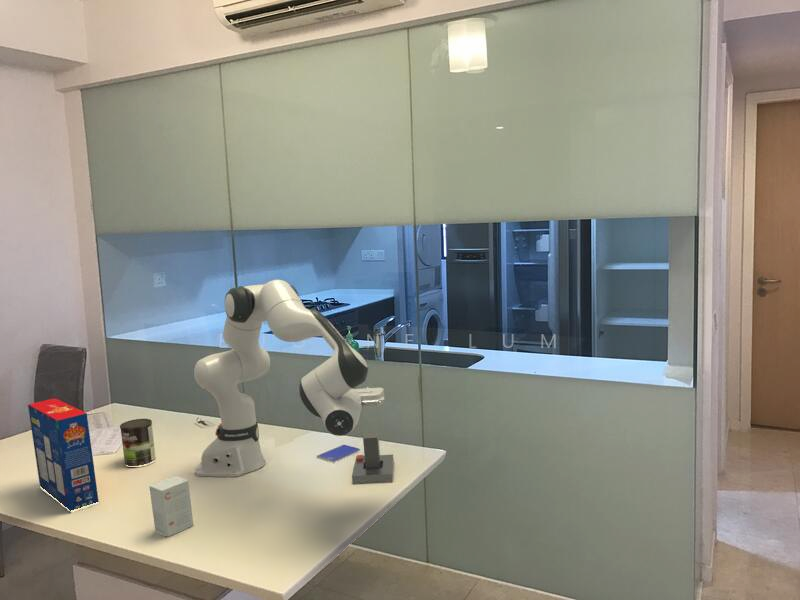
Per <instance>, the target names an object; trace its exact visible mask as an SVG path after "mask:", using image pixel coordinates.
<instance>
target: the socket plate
mask: <svg viewBox="0 0 800 600" xmlns="http://www.w3.org/2000/svg"><path fill="white" fill-rule="evenodd" d="M380 463H381V464H380V468H374V469H365V457H364V454H359V455H358V454H357V455H356V457H355V460H354V465H353V469H352V474H351V480H352V481H351V482H352V485H359V484H361V485H362V484H376V483H377V484H378V483H380V484H381V483H392V482H393V478H394V464H395V462H394V454H380Z"/></svg>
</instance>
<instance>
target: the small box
mask: <svg viewBox="0 0 800 600" xmlns="http://www.w3.org/2000/svg"><path fill="white" fill-rule="evenodd" d="M149 493H150V494H149V496H150V500H151V501H150V502H151V509H152V516H153V524H154V531H155V532H156V531H157V532H159V533H161V534H160V535H162V534H163V535H162V536H164V535H165V536H164V537H166V536H167V537H166V538H169V537H171V535H172V536H173V534H174V535H176V534H178V533H180V532H182V531H185V530H186V529H189V528H190V527H193V526H194V519H193V510H192V509H193V508H192V502H191V493H190V485H189V480H188V479H186V478H184V477H181V476H178V475H173V476H171V477H169V478H167V479H163V480H162V481H159V482H156V483H153V484H151V485H149ZM157 532H156V533H157ZM159 533H158V534H159Z"/></svg>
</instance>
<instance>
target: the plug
mask: <svg viewBox="0 0 800 600" xmlns="http://www.w3.org/2000/svg"><path fill="white" fill-rule="evenodd" d="M362 441H363V451H364V452H363V455H364V457H365V469H374V468H380V464H381V463H380V455H381V453H380V439H379V432H371V433H370V432H368V433H364V434H363V437H362Z"/></svg>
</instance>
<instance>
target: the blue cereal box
mask: <svg viewBox="0 0 800 600" xmlns="http://www.w3.org/2000/svg"><path fill="white" fill-rule="evenodd" d="M27 409H28V413H29V414H28V415H29V421H30V427H31V434H32V442H33V449H34V455H35V461H36V468H37V476H38V482H39V487H40V486H41V487H42V488H43V489H45V490H46V491H47V492H48V493H49V494H51V495H52V496H53V497H54V498H56V499H57V500H58V501H59V502H60V503H62V504H63V505H64V506H65V507H67V508H68V509H69V510H70V511H71V510H74V509H78V508H81V507H83V506H87V505H90V504H93V503H96V502H99V495H98V487H97V480H96V473H95V465H94V458H93V449H92V442H91V436H90V427H89V420H88V413H87V412H85V411H83V410H81V409H78V408H77V407H74V406H72V405H70V404H68V403H67V402H64V401H62V400H60V399H58V398H50V399H46V400H41V401H36V402H33V403H28V404H27ZM99 503H100V502H99Z"/></svg>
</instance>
